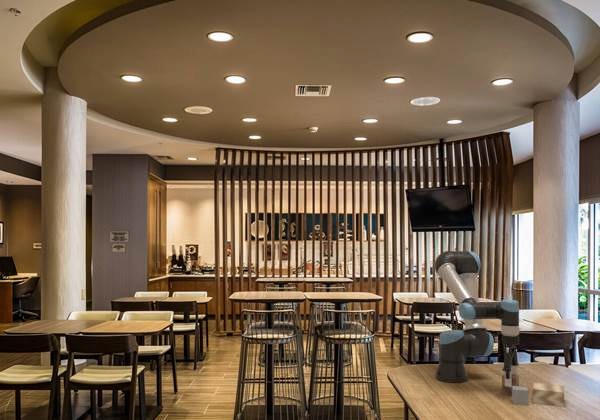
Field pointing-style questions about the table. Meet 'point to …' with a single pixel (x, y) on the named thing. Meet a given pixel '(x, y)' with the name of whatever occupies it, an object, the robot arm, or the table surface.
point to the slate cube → (520, 395)
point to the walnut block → (508, 390)
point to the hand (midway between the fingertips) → (511, 383)
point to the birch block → (548, 394)
